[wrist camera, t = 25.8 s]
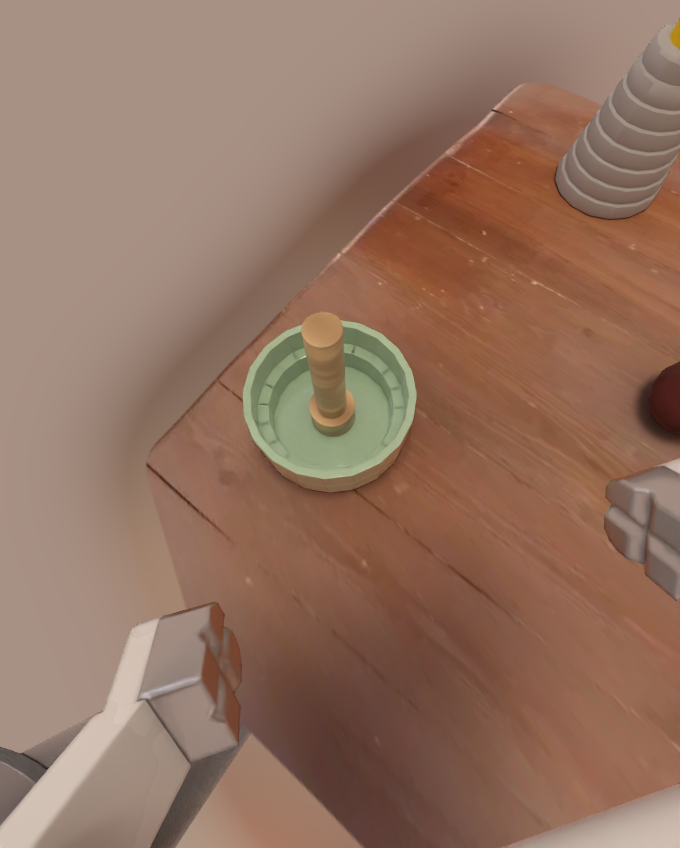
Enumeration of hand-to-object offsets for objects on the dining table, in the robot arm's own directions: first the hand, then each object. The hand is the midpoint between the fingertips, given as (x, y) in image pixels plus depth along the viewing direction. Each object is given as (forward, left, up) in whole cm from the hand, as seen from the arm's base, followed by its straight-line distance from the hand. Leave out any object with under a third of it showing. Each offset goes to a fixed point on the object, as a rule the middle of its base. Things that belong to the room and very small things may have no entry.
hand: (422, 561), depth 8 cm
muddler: (+8, +13, -31) cm, 34 cm away
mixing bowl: (+8, +13, -31) cm, 35 cm away
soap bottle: (+55, +13, -32) cm, 65 cm away
